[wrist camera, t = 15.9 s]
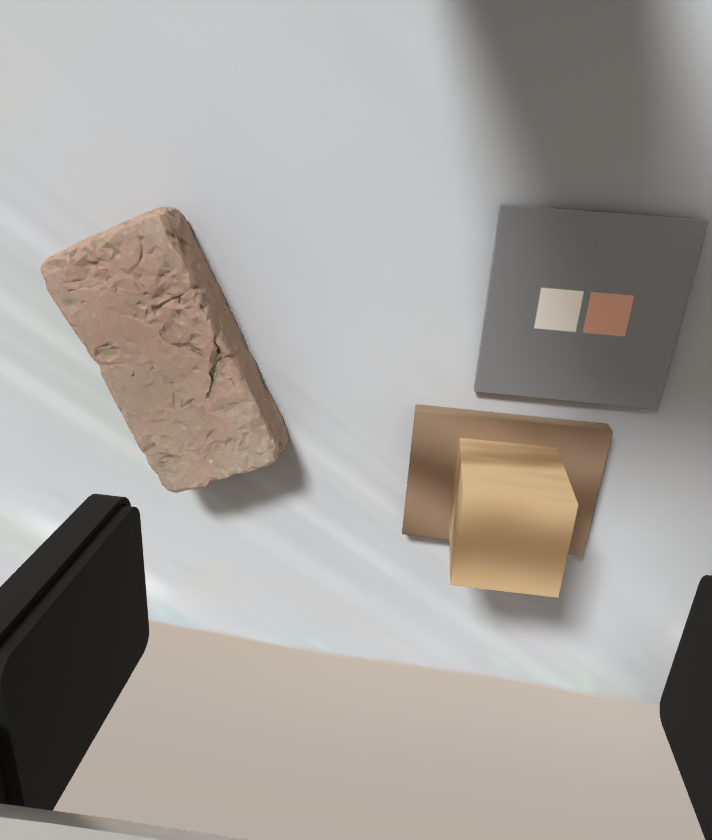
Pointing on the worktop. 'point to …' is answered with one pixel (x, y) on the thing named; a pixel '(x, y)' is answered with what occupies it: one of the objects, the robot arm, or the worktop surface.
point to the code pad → (585, 304)
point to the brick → (168, 349)
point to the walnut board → (444, 426)
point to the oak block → (510, 518)
